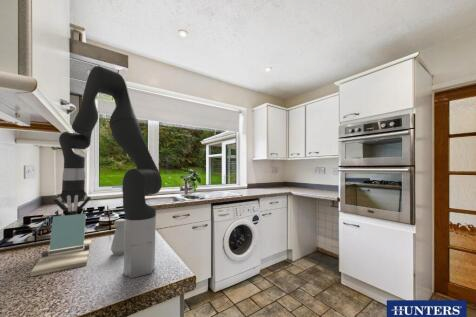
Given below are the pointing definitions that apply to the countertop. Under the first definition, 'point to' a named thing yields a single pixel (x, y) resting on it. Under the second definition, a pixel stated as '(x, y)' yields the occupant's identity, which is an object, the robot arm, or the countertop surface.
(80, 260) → the board
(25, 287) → the countertop surface
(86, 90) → the robot arm
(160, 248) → the countertop surface
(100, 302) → the countertop surface
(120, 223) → the salt shaker
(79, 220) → the tile
